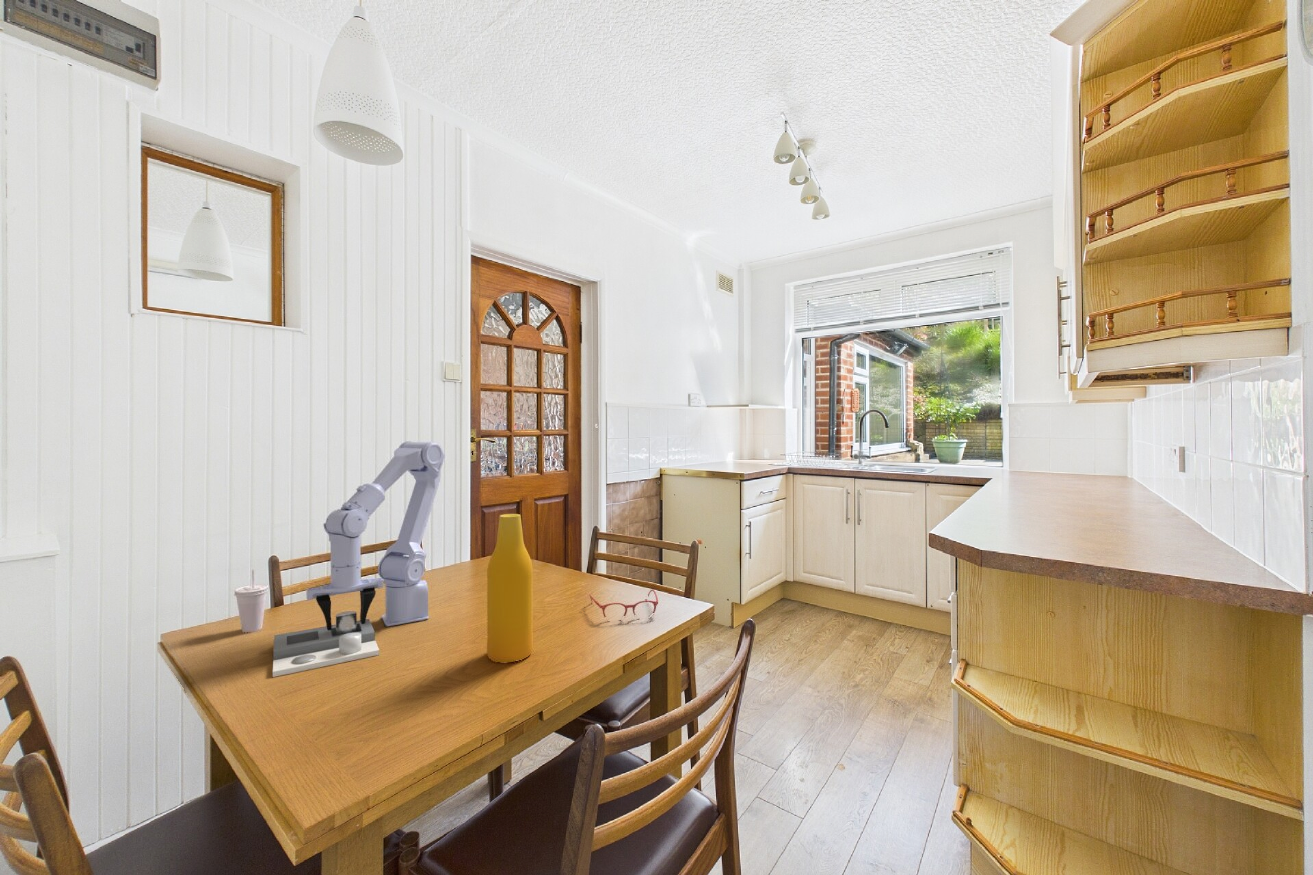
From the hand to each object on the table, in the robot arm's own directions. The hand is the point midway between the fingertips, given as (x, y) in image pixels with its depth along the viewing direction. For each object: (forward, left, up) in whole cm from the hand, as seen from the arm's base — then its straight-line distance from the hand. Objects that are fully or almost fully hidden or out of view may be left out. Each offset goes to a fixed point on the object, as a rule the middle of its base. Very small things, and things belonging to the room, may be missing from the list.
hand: (346, 625), depth 119 cm
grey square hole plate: (+4, 0, -3) cm, 5 cm away
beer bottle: (-28, +27, -4) cm, 39 cm away
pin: (0, 0, -3) cm, 3 cm away
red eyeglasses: (-61, +17, -4) cm, 64 cm away
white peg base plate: (+4, +9, -3) cm, 10 cm away
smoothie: (+18, -20, -4) cm, 27 cm away
